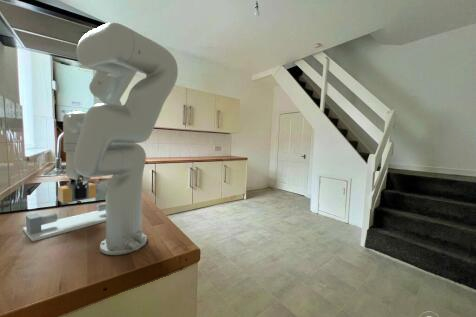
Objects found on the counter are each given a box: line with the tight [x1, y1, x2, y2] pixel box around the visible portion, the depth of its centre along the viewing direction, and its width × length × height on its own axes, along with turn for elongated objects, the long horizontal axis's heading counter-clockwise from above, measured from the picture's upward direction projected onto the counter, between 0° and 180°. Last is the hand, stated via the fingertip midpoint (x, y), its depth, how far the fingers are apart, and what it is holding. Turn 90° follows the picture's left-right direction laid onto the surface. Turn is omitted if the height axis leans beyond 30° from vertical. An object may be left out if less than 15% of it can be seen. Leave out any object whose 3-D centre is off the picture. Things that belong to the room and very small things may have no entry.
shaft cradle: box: [22, 202, 106, 242], centre depth 75 cm, size 12×27×6 cm, turn 146°
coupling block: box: [57, 181, 97, 204], centre depth 74 cm, size 5×10×6 cm, turn 146°
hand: (77, 196), depth 74 cm, fingers closed on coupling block, 5 cm apart
